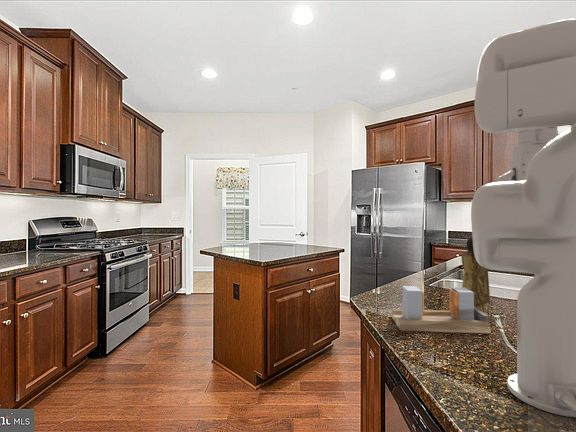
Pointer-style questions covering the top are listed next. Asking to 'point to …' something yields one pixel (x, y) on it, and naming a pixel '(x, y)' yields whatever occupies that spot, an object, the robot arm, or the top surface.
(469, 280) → the statue
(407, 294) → the grey upright block
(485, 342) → the top surface
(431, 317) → the jaw rail
